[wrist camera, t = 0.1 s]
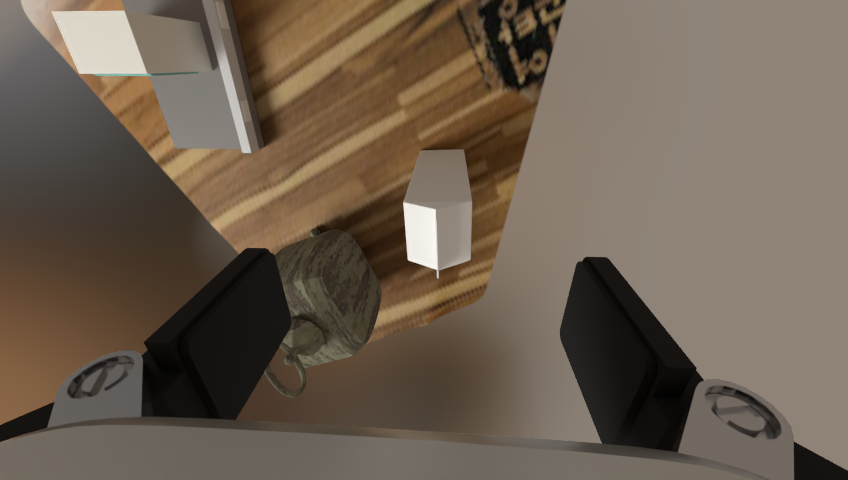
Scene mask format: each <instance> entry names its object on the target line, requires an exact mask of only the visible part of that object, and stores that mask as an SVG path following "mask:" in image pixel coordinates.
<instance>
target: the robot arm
mask: <svg viewBox="0 0 848 480" xmlns="http://www.w3.org/2000/svg"><path fill="white" fill-rule="evenodd" d="M291 322H292V319H291V314H290V311H289V307H288V303H287V299H286V296H285V292H284V288H283V284H282V281H281V277H280V273H279V269H278V266H277V262H276V258H275V256H274V254H272V253H270V252H269V250H268V249H266V248H247V249H245V250H244V251H243V252H242V253H240V254H239V255H238V256H237V257H236V258H235V259H234V260H233V261H232V262H231V263H230V264H229V265H228V266H226V267H225V268H224V269H223V270H222V271H221V272H220V273H219V274H218V275H217V276H216V277H214V278H213V279H212V280H211V281H210V282H209V283H208V284H207V285H206V286H205V287H203V288H202V289H201V290H200V291H199V292H198V293H197V294H196V295H195V296H194V297H193V298H192V299H191V300H190V301H188V302H187V303H186V304H185V305H184V306H183V307H182V308H181V309H179V310H178V311H177V312H176V313H175V314H174V315H173V316H172V317H171V318H170V319H169V320H168V321H166V322H165V323H164V324H163V325H162V326H161V327H160V328H159V329H158V330H157V331H156V332H154V333H153V334H152V335H151V336H150V337H149V338H148V339H147V340H146V341H145V342H144V344H145V346H146V347H147V349H148V350H147V351H146V352H145V353H144V354H143V355H141V354H139V353H137V352H135V351H120V352H115V353H112V354H108V355H105V356H103V357H100V358H98V359H96V360H93V361H92V362H90V363H88V364H86V365H85V366H83V367H81V368H80V369H79V370H77V371H76V372H75V373H73V374H72V375H71V376H69V378H68V379H67V380H66V381H65V382H64V383H63V384H62V385H61V387H60V389H59V391H58V393H57V395H56V399H55V402H53V403H50V404H48V405H46V406H43V407H41V408H39V409H36V410H34V411H32V412H30V413H27V414H25V415H23V416H20V417H18V418H16V419H13V420H11V421H9V422H6V423H4V424H2V425H0V480H848V471H847V470H845V469H843V468H841V467H840V466H838V465H836V464H834V463H832V462H830V461H829V460H826V459H825V458H823V457H821V456H819V455H818V454H816V453H814V452H812V451H810V450H808V449H807V448H804V447H803V446H801V445H799V444H797V443H795V442H794V441H793V433H792V429H791V426H790V425H789V423H788V422H787V420H786V419H785V417H784V416H783V415H782V414H781V413H780V412H779V411H778V410H777V409H776V408H775V407H774V406H773V405H772V404H770V403H769V402H768V401H766V400H765V399H763V398H762V397H761V396H759V395H758V394H756V393H754V392H752V391H750V390H748V389H747V388H745V387H742V386H740V385H737V384H734V383H732V382H728V381H723V380H718V379H712V380H711V379H709V380H705V381H704V380H703V378H702V377H701V376H700V375H699V373H698V372H697V371H696V367H695V366H694V364H693V363H692V362H691V361H690V360H689V358H688V357H687V356H686V354H685V353H684V352H683V351H682V349H681V348H680V347H679V346H678V344H677V343H676V342H675V341H674V340H673V338H672V337H671V336H670V335H669V334H668V332H667V331H666V330H665V328H664V327H663V326H662V325H661V323H660V322H659V321H658V320H657V318H656V317H655V316H654V315H653V313H652V312H651V311H650V310H649V308H648V307H647V306H646V305H645V303H644V302H643V301H642V300H641V298H640V297H639V296H638V295H637V294H636V293H635V291H634V290H633V289H632V287H631V286H630V285H629V284H628V282H627V281H626V280H625V279H624V277H623V276H622V275H621V274H620V272H619V271H618V270H617V269H616V267H614V265H613V264H612V262H611V261H610V260H609V259H608V258H606V257H585V258H584V259H583V261H582V262H578V263H577V265H576V268H575V272H574V276H573V280H572V284H571V288H570V292H569V296H568V300H567V304H566V308H565V312H564V316H563V320H562V324H561V328H560V338H561V342H562V344H563V347H564V349H565V352H566V354H567V357H568V359H569V362H570V364H571V367H572V369H573V372H574V374H575V377H576V379H577V382H578V384H579V387H580V389H581V392H582V395H583V397H584V400H585V402H586V404H587V407H588V409H589V412H590V414H591V417H592V419H593V422H594V425H595V427H596V429H597V432H598V435H599V437H600V440H601V442H602V444H599V443H587V442H575V441H563V440H549V439H534V438H519V437H505V436H490V435H475V434H461V433H445V432H430V431H413V430H397V429H381V428H365V427H349V426H332V425H316V424H315V425H314V424H298V423H280V422H279V423H278V422H261V421H245V420H236V418H237V416H238V415H239V413H240V412H241V410H242V408H243V407H244V405H245V403H246V402H247V400H248V398H249V396H250V395H251V393H252V391H253V390H254V388H255V387H256V385H257V383H258V381H259V380H260V378H261V376H262V375H263V373H264V371H265V370H266V368H267V366H268V365H269V363H270V361H271V360H272V358H273V356H274V355H275V353H276V351H277V350H278V348H279V346H280V345H281V343H282V341H283V340H284V338H285V336H286V335H287V333H288V331H289V329H290V327H291Z"/></svg>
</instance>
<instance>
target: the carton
mask: <svg viewBox="0 0 848 480" xmlns="http://www.w3.org/2000/svg"><path fill="white" fill-rule="evenodd" d="M52 14H53V16H54V18H55V21H56V23H57V25H58V27H59V30H60V32H61V34H62V36H63V38H64V41H65V43H66V45H67V47H68V49H69V52H70V54H71V56H72V58H73V61H74V63H75V65H76V67H77V69H78V72H79V74H94V75H95V76H159V75H179V74H199V73H198V72H201V71H213V70H212V66H211V62H210V59H209V55H208V52H207V48H206V44H205V41H204V37H203V33H202V30H201V26H200V23H199V22H193V21H187V20H180V19H174V18H168V17H161V16H155V15H148V14H142V13H135V12H129V11H70V12H52Z"/></svg>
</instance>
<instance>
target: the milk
mask: <svg viewBox="0 0 848 480" xmlns="http://www.w3.org/2000/svg"><path fill="white" fill-rule="evenodd" d="M403 206H404V219H405V231H406V244H407V256H408V260H409V261H412V262H415V263H418V264H421V265H424V266H426V267H429V268H432V269H435V270H437V278H439V270H442V269H445V268H448V267H451V266H454V265H457V264H460V263H463V262H466V261H469V260H470V259H471V228H472V197H471V191H470V185H469V179H468V172H467V166H466V160H465V153H464V149H454V150H421V151H420V153H419V156H418V159H417V162H416V165H415V168H414V171H413V174H412V177H411V180H410V183H409V186H408V189H407V192H406V195H405V199H404V202H403Z"/></svg>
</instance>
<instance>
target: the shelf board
mask: <svg viewBox="0 0 848 480" xmlns="http://www.w3.org/2000/svg"><path fill="white" fill-rule="evenodd" d="M122 2H123V4H124V7H125V10H126V11H129V12H135V13H142V14H148V15H155V16H161V17H168V18H174V19H180V20H187V21H193V22H199V23H200V26H201V30H202V33H203V37H204V41H205V44H206V48H207V52H208V55H209V59H210V62H211V66H212V70H213V71H201V72H198V73H199V74H179V75H159V76H150V79H151V82H152V85H153V87H154V90H155V93H156V96H157V99H158V101H159V104H160V107H161V110H162V112H163V115H164V118H165V121H166V123H167V126H168V129H169V132H170V135H171V137H172V140H173V143H174V146H175V148H200V149H242V153H252V152H255V151H257V150H259V149H261V148H263V147H264V142H263V138H262V134H261V129H260V125H259V121H258V116H257V112H256V108H255V103H254V99H253V95H252V91H251V86H250V82H249V78H248V73H247V69H246V65H245V60H244V56H243V52H242V47H241V43H240V39H239V34H238V30H237V26H236V21H235V17H234V13H233V9H232V4H231V0H122Z"/></svg>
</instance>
